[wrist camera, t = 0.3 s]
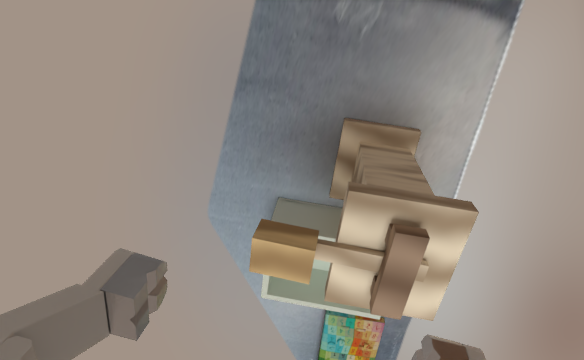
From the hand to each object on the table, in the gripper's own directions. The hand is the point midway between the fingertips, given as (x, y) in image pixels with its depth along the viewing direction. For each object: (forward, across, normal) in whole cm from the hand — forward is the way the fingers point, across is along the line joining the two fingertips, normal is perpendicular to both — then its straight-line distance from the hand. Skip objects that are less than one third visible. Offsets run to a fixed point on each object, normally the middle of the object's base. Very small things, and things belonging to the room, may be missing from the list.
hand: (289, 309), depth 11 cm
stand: (+47, -8, +16) cm, 50 cm away
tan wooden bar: (+21, -4, +14) cm, 25 cm away
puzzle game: (+45, -15, +57) cm, 74 cm away
